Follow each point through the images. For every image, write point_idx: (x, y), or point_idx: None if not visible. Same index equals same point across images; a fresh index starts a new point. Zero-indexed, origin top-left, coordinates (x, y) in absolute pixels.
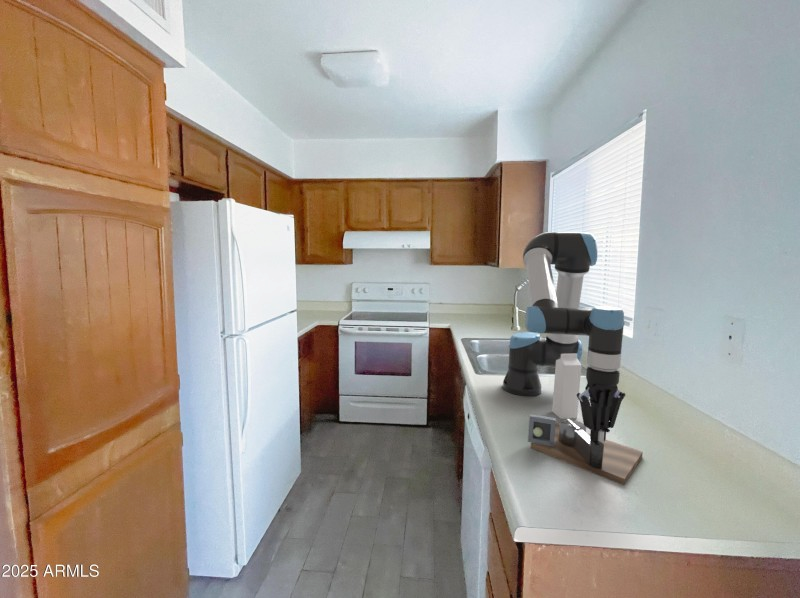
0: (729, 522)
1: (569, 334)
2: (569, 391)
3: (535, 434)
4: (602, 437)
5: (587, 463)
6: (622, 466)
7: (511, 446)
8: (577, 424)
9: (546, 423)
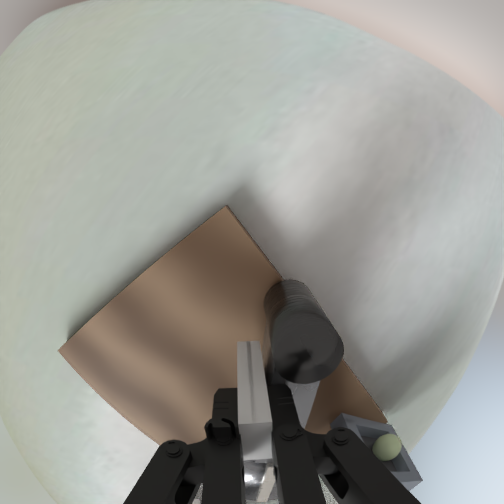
0: (73, 43)
1: None
2: None
3: (398, 437)
4: (247, 398)
5: None
6: (171, 288)
7: (417, 410)
8: (245, 483)
9: None
